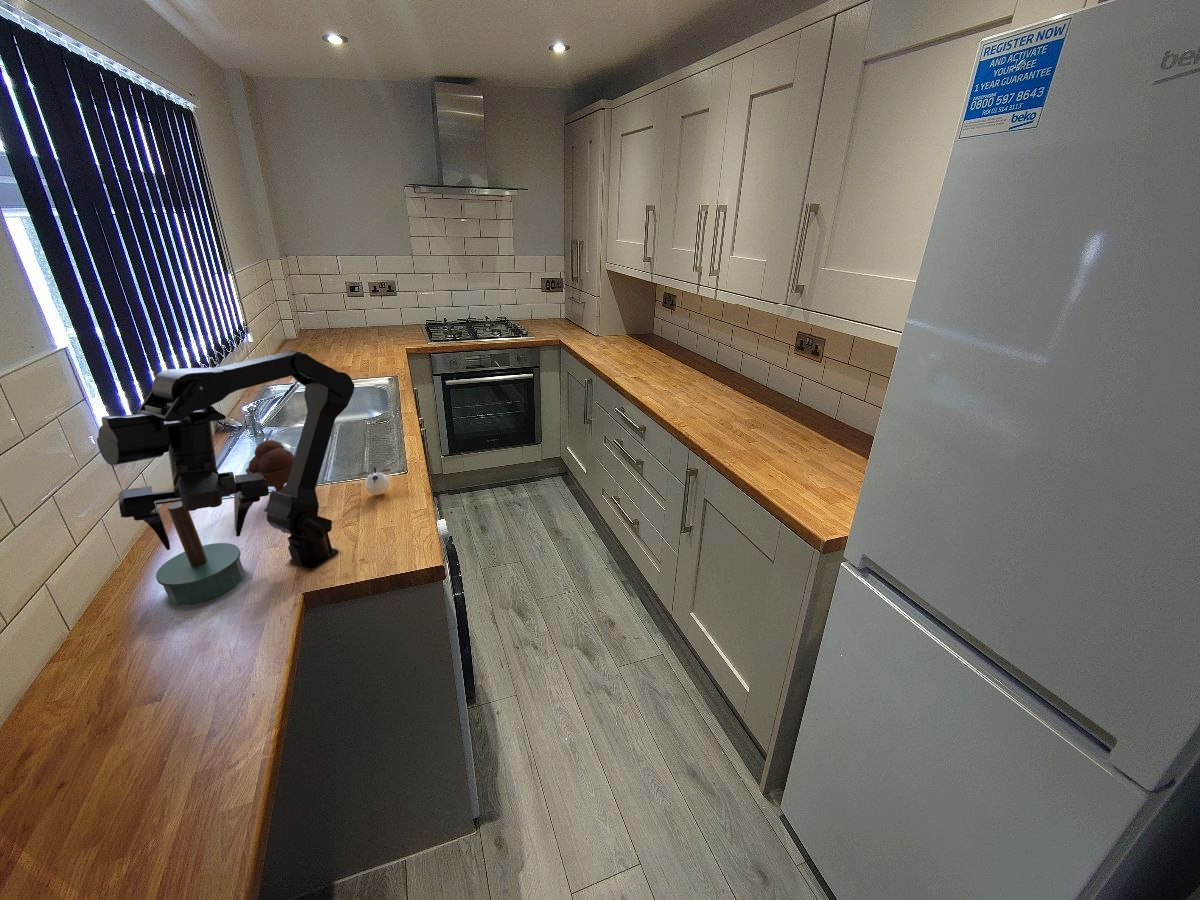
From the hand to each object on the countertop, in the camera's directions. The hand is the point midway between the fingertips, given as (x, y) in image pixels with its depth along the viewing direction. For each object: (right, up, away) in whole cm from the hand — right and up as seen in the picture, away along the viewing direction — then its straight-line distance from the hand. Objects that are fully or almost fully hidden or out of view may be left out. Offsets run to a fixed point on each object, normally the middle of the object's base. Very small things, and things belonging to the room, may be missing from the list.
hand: (204, 542), depth 86 cm
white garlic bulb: (+11, +7, +42) cm, 44 cm away
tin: (-8, -10, +12) cm, 17 cm away
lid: (-8, -6, +10) cm, 14 cm away
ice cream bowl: (-12, +3, +42) cm, 44 cm away
